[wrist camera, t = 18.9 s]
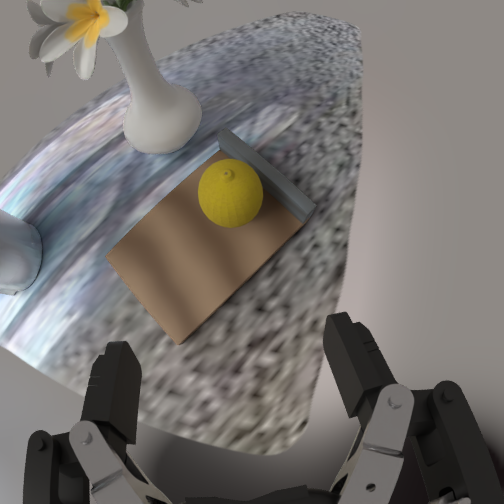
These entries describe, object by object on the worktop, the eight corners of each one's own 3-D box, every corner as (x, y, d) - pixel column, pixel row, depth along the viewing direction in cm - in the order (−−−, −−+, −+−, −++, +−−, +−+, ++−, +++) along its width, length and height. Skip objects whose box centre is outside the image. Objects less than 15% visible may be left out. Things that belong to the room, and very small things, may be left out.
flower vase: (181, 72, 34) (142, -75, 10) (247, 158, 31) (238, -68, 7) (101, 117, 33) (17, -13, 9) (145, 217, 30) (-14, 51, 5)
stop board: (181, 343, 27) (168, 349, 23) (111, 259, 29) (90, 250, 24) (308, 220, 30) (316, 205, 25) (229, 150, 31) (225, 127, 27)
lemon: (233, 175, 29) (226, 130, 21) (273, 209, 28) (280, 171, 20) (194, 212, 28) (174, 176, 20) (234, 249, 27) (226, 224, 20)
